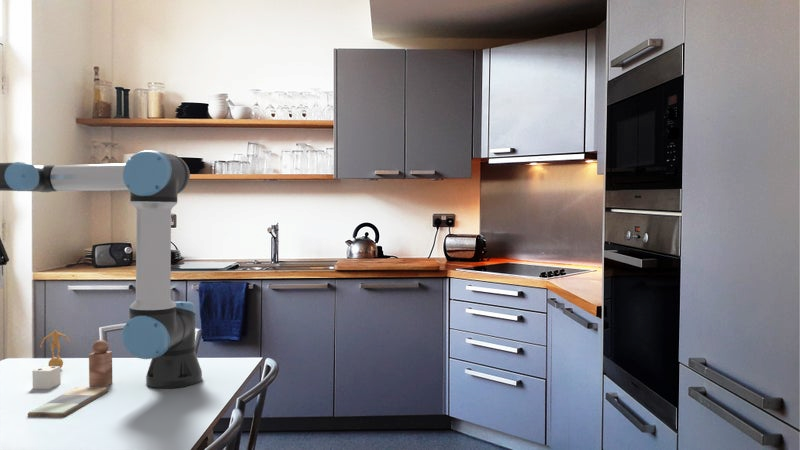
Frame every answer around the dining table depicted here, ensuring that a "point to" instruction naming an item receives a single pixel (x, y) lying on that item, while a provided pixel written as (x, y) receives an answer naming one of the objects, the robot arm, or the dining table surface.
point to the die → (46, 377)
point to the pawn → (100, 365)
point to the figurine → (55, 336)
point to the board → (68, 402)
